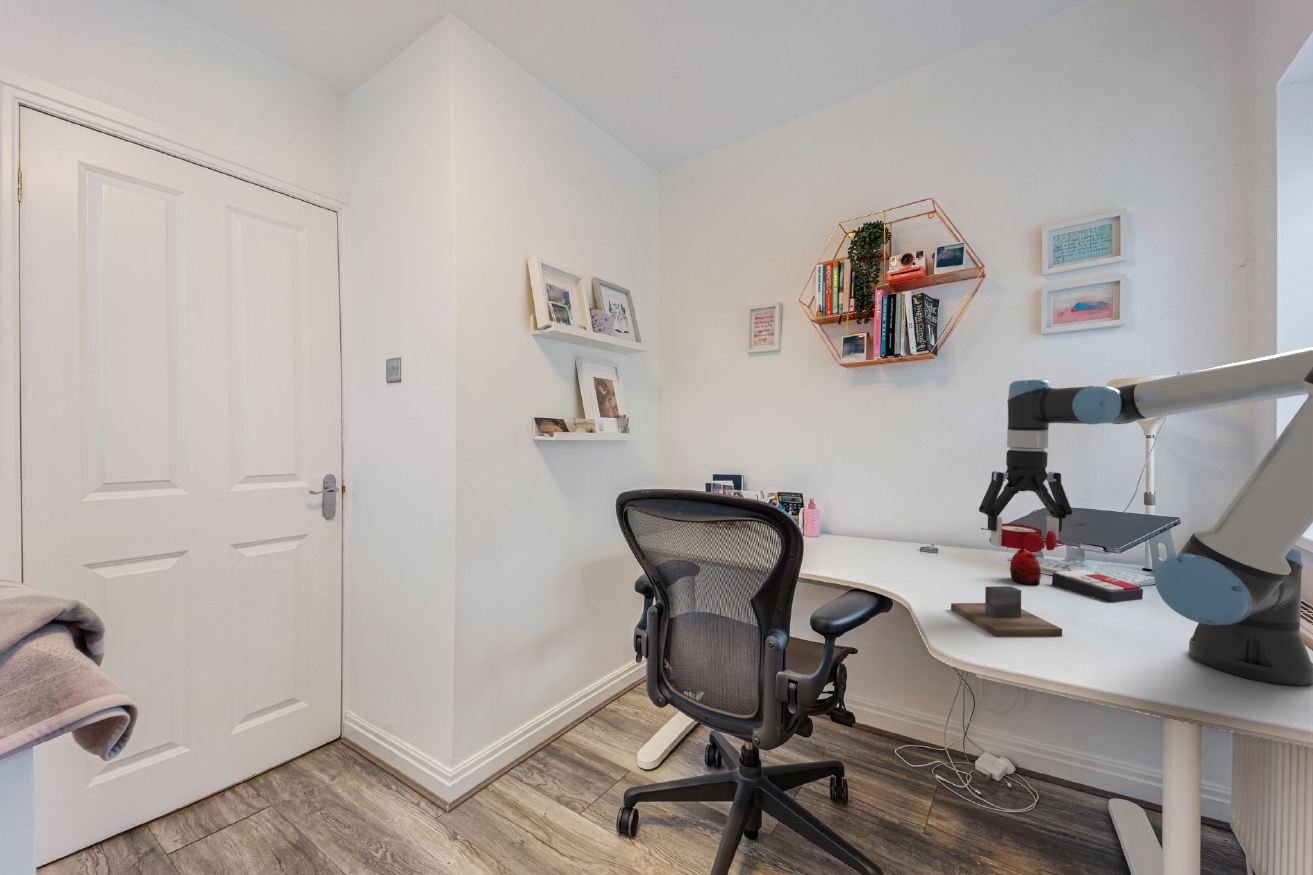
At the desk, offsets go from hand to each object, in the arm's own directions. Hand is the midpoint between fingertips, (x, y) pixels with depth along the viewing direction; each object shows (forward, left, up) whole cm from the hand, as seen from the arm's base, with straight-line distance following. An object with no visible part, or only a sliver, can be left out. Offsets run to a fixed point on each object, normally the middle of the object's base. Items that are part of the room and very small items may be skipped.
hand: (1023, 545), depth 117 cm
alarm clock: (0, 0, -1) cm, 1 cm away
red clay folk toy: (+28, -20, -17) cm, 38 cm away
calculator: (+19, -33, -17) cm, 42 cm away
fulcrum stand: (-1, +6, -17) cm, 18 cm away
